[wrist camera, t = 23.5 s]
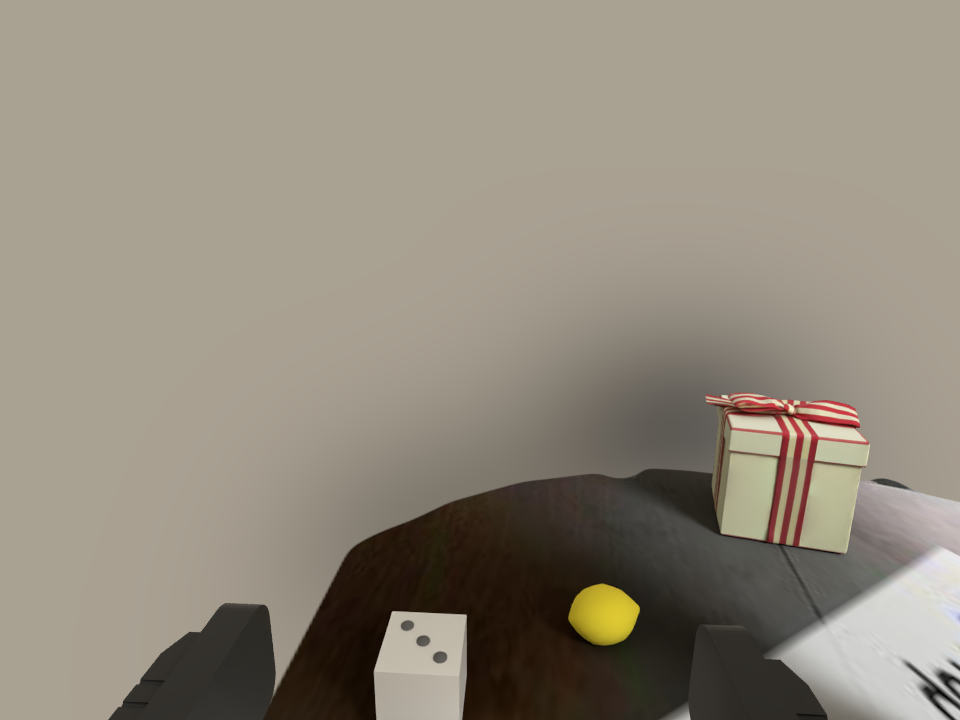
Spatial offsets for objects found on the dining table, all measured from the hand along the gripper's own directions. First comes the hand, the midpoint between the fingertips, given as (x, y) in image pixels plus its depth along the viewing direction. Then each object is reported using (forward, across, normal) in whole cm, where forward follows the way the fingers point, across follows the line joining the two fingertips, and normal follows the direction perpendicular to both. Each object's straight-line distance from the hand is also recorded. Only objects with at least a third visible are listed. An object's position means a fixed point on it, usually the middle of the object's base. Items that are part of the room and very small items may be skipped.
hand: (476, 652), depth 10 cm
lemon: (+37, -10, +32) cm, 50 cm away
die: (+28, +6, +32) cm, 43 cm away
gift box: (+62, -37, +32) cm, 79 cm away
